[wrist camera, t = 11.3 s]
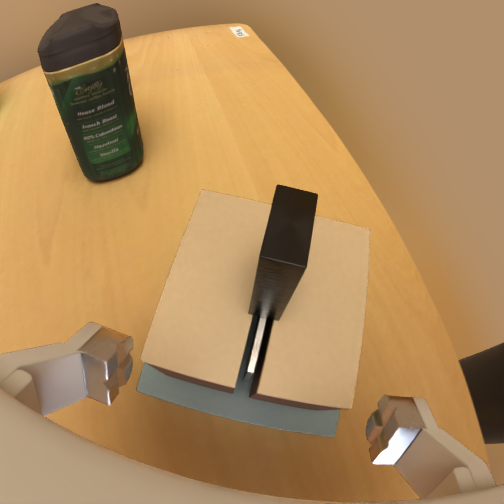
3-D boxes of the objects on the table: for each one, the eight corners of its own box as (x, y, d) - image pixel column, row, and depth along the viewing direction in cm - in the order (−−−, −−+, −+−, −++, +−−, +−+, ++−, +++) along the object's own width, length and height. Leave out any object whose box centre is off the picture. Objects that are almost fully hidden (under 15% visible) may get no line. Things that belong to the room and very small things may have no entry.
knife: (262, 258, 26) (288, 136, 15) (284, 263, 26) (324, 145, 15) (232, 378, 22) (237, 341, 10) (257, 384, 21) (291, 354, 10)
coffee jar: (151, 170, 33) (119, 13, 17) (84, 192, 32) (23, 48, 15) (139, 121, 37) (116, -9, 21) (83, 139, 36) (42, 16, 19)
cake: (194, 226, 30) (185, 163, 23) (357, 264, 30) (395, 213, 22) (138, 391, 23) (97, 380, 15) (331, 436, 22) (377, 444, 14)
